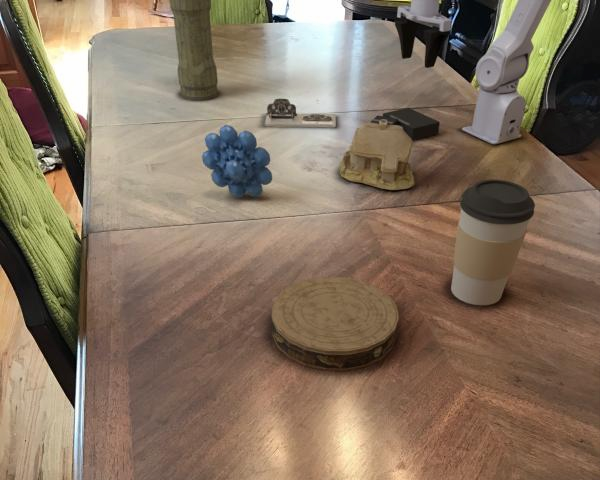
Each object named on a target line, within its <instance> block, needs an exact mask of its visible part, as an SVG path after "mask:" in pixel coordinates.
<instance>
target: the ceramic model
mask: <svg viewBox="0 0 600 480" xmlns="http://www.w3.org/2000/svg"><path fill="white" fill-rule="evenodd" d="M354 131H355V132H354V135H353V138H352V141H351V145H350V146H349V148H348V150H347V151H345V152H344V153H343V157H342V159H341V161H340V162H339V164H338V167H339V174H340V176H341V177H342V178H344V179H345V180H347V181H350V182H355V183H362V184H365V185H369V186H372V187H376V188H378V189H382V190H389V191H399V190H406V189H410V188H413V187H414V186H415V179H414V178H415V176H414V175H413V174H414V173H413V166H412V164H411V163H409V162H408V161H409V160H410V156H411V154H412V153H411V151H412V149H413V146H414V144H413V143H414V140H413V141H412V139H411V138H410V137H409V136H408V135H407V134H406V133H405V132H404V130H403V128H402V127H401V126H399V125H388V124H387V120H386V119H381V120H380V122H379V124H377V123H370V122H364V124H363V125H361V126H360V127H358V128H356V130H354Z"/></svg>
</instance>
